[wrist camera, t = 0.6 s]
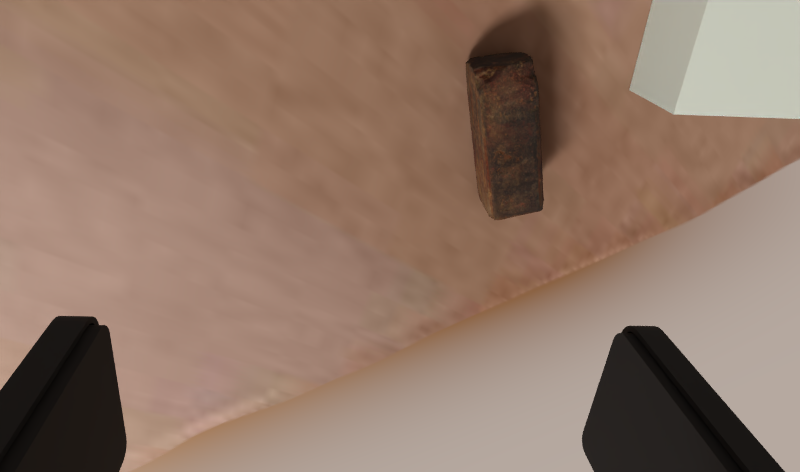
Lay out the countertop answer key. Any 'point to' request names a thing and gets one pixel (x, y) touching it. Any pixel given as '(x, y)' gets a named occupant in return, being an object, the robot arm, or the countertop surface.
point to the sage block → (721, 58)
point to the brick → (506, 133)
